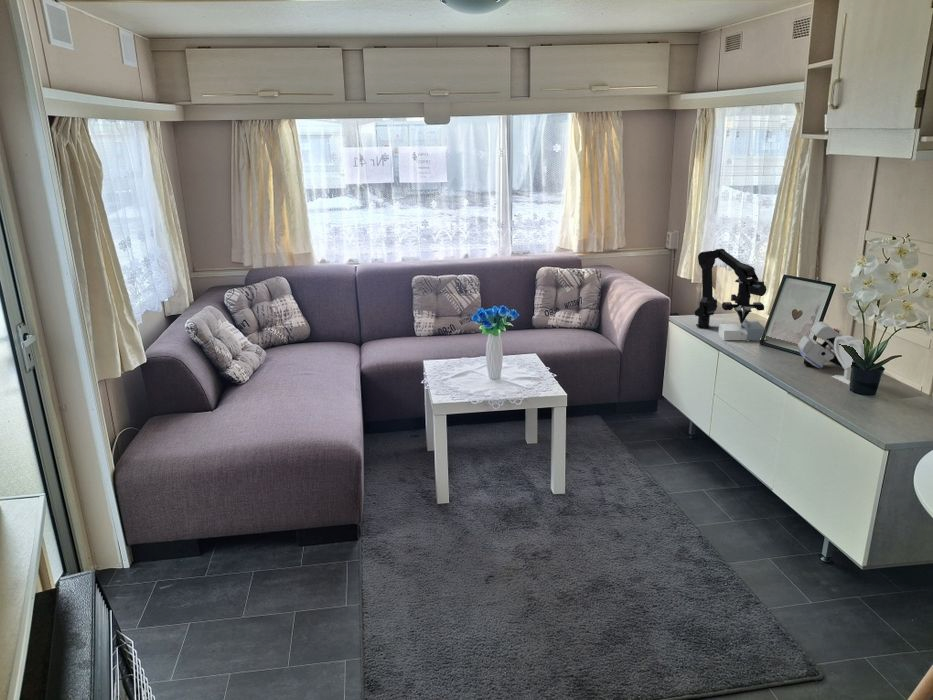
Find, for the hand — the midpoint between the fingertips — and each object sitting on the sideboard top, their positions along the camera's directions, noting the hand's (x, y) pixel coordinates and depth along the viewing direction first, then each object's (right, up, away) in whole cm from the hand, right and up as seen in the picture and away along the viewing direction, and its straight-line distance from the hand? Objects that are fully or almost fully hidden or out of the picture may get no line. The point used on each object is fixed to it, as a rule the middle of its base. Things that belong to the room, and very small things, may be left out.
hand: (741, 323), depth 351 cm
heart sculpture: (+20, -26, -59) cm, 68 cm away
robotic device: (+19, -20, -42) cm, 50 cm away
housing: (+1, -7, +2) cm, 7 cm away
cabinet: (+6, -7, +1) cm, 9 cm away
